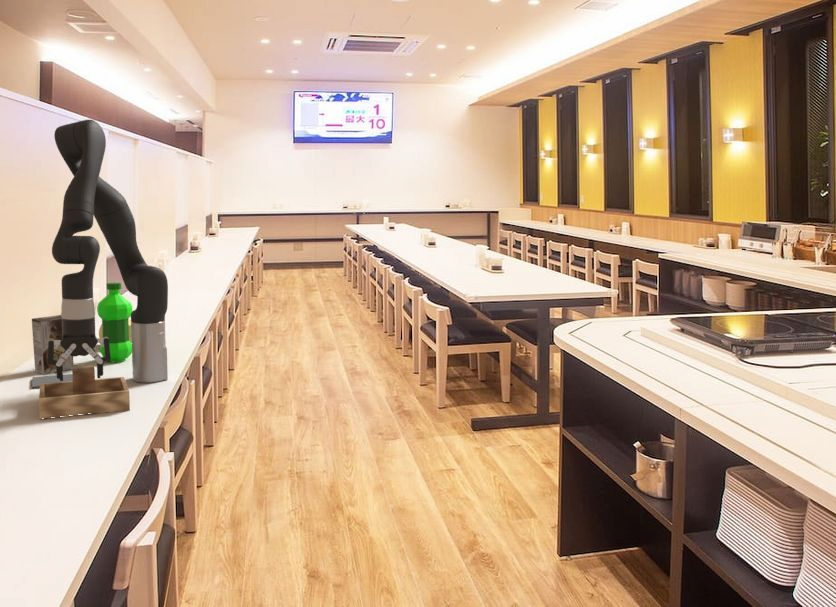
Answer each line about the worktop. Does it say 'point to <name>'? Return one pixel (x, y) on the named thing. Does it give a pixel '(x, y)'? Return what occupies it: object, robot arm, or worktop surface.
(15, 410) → the worktop surface
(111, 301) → the plastic bottle
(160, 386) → the worktop surface
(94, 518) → the worktop surface
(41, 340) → the coffee box
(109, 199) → the robot arm
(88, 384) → the walnut block
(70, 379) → the slate mat
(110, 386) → the caddy
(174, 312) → the worktop surface
